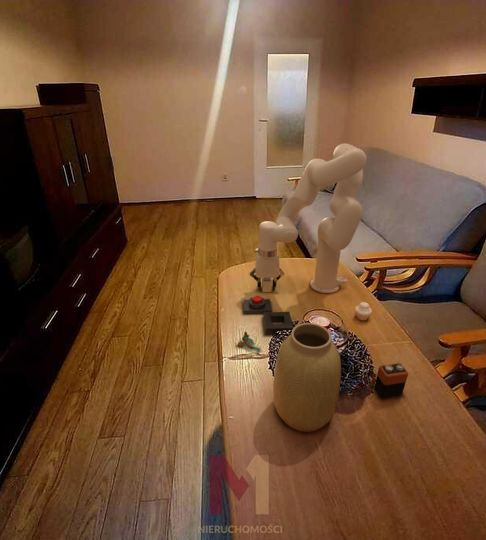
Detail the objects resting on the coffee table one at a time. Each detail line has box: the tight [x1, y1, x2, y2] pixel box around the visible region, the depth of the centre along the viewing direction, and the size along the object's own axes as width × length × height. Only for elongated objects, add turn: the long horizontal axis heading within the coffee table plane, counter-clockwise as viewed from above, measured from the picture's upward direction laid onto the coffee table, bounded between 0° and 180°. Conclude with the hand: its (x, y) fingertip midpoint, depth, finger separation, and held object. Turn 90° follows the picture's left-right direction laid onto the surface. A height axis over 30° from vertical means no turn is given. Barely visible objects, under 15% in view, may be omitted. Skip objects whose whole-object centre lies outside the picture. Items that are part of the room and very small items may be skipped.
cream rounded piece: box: [354, 301, 373, 321], centre depth 132 cm, size 6×6×7 cm
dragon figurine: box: [236, 330, 260, 355], centre depth 120 cm, size 6×7×8 cm
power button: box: [252, 295, 263, 304], centre depth 139 cm, size 4×4×2 cm
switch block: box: [242, 296, 273, 315], centre depth 140 cm, size 11×8×4 cm
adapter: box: [262, 311, 294, 336], centre depth 129 cm, size 10×10×3 cm
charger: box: [261, 278, 273, 293], centre depth 152 cm, size 4×4×6 cm
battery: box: [373, 362, 409, 399], centre depth 100 cm, size 4×7×10 cm, turn 100°
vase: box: [272, 322, 342, 433], centre depth 90 cm, size 17×17×27 cm
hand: (266, 288), depth 153 cm, fingers open, 5 cm apart
